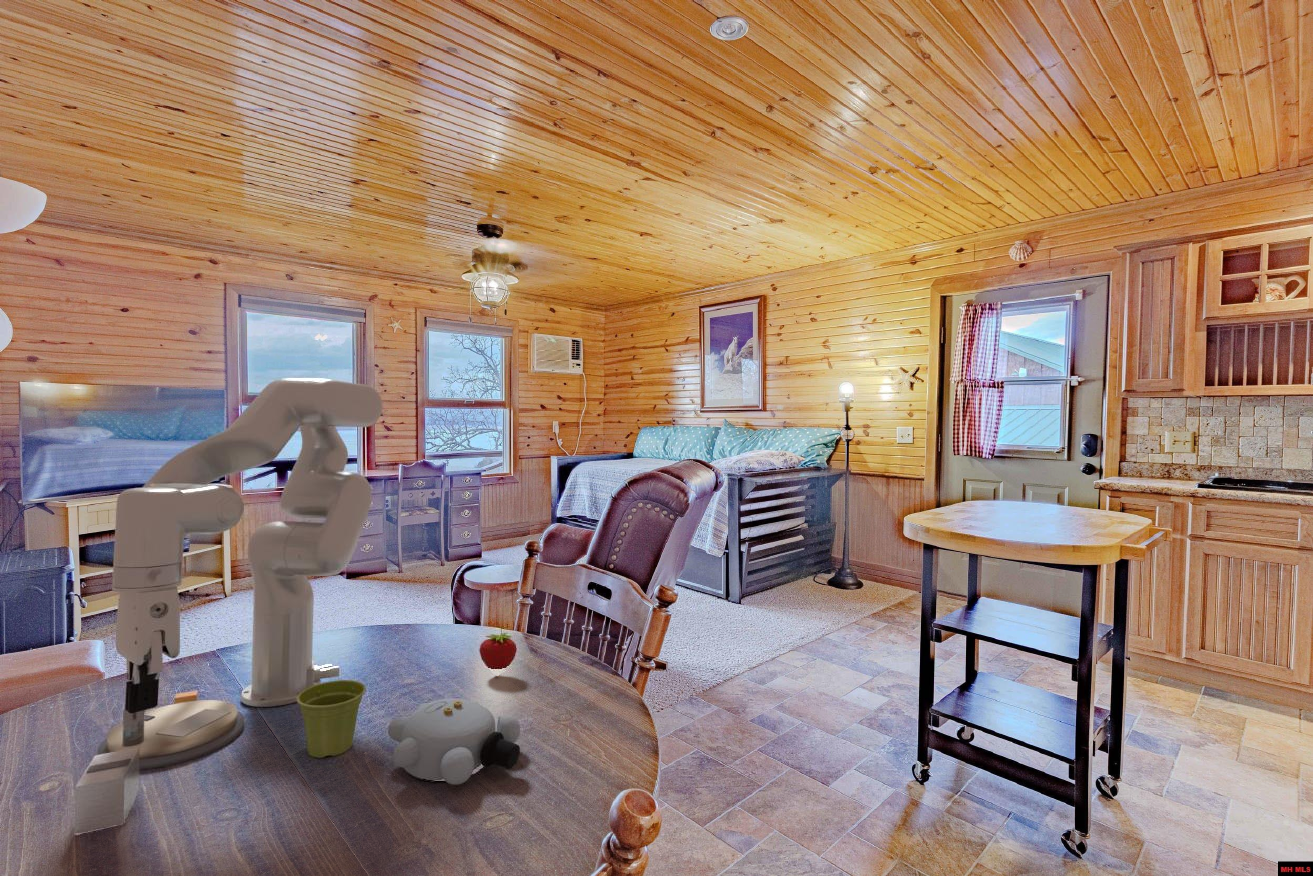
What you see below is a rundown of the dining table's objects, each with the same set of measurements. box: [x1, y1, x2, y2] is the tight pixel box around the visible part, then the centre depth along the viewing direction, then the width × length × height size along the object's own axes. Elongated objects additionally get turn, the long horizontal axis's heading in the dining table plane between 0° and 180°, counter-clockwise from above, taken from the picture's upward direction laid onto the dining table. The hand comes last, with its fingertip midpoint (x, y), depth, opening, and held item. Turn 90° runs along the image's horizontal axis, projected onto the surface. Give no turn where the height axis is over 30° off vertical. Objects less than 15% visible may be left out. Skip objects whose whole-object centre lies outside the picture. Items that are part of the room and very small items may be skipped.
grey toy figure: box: [387, 697, 521, 786], centre depth 91 cm, size 17×8×20 cm
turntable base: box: [96, 690, 245, 771], centre depth 97 cm, size 18×20×3 cm
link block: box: [73, 748, 140, 834], centre depth 78 cm, size 4×8×6 cm, turn 30°
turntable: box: [106, 699, 238, 758], centre depth 96 cm, size 16×16×6 cm
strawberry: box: [478, 625, 517, 669], centre depth 124 cm, size 6×8×10 cm
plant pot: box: [296, 679, 367, 759], centre depth 94 cm, size 9×9×9 cm
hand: (141, 708), depth 86 cm, fingers closed
